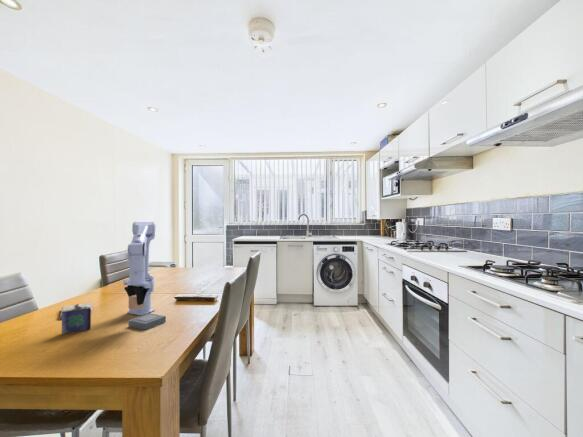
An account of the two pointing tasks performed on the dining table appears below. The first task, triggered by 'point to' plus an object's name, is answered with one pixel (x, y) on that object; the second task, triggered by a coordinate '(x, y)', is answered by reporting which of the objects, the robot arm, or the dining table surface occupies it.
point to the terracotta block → (134, 303)
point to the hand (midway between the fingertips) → (136, 303)
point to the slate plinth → (147, 321)
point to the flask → (76, 319)
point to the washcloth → (74, 308)
